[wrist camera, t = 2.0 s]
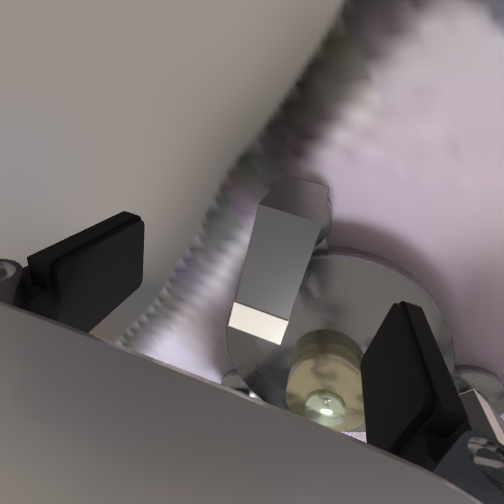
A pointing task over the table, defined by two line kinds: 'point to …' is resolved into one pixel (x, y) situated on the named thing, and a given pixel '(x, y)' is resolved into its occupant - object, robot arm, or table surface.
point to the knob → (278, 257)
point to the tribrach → (339, 339)
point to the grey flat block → (482, 415)
